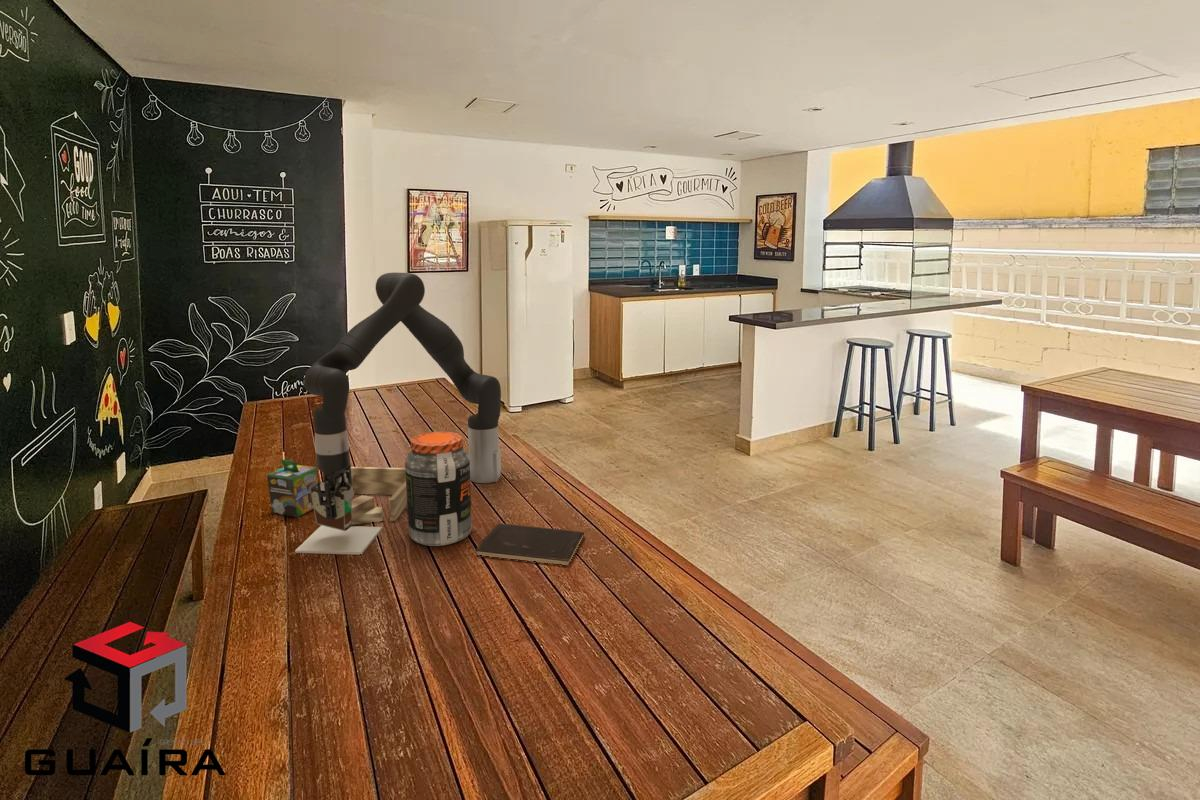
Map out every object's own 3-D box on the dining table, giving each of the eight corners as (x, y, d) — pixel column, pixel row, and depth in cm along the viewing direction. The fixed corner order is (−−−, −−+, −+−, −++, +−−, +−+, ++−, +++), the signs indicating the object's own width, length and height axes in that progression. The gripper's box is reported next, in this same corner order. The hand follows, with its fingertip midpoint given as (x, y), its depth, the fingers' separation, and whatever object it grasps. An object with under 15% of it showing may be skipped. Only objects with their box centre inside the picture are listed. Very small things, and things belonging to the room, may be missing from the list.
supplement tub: (475, 544, 163) (472, 445, 157) (409, 552, 159) (403, 450, 152) (469, 518, 178) (465, 426, 171) (408, 525, 173) (402, 431, 167)
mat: (382, 529, 171) (381, 527, 170) (361, 554, 157) (361, 552, 157) (321, 527, 171) (321, 525, 171) (295, 552, 157) (295, 550, 157)
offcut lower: (382, 516, 179) (382, 506, 178) (382, 523, 175) (381, 512, 175) (335, 521, 176) (334, 511, 175) (334, 528, 172) (333, 517, 171)
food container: (368, 522, 163) (364, 485, 161) (349, 532, 158) (345, 493, 156) (331, 513, 168) (327, 476, 166) (312, 522, 163) (307, 485, 161)
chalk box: (321, 505, 185) (317, 455, 181) (297, 518, 176) (291, 466, 173) (295, 501, 188) (290, 451, 184) (270, 513, 179) (264, 462, 176)
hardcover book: (568, 569, 153) (568, 560, 152) (475, 558, 157) (475, 549, 157) (584, 539, 168) (584, 530, 167) (498, 530, 172) (498, 522, 172)
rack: (416, 493, 194) (415, 468, 192) (394, 521, 175) (392, 493, 173) (352, 492, 194) (350, 466, 192) (323, 519, 176) (321, 491, 174)
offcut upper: (363, 505, 179) (362, 495, 178) (374, 507, 177) (373, 497, 177) (341, 516, 172) (340, 505, 171) (352, 519, 170) (351, 508, 170)
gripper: (334, 459, 151) (340, 525, 155) (359, 440, 165) (364, 501, 169) (302, 458, 151) (309, 524, 155) (329, 439, 165) (335, 500, 169)
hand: (338, 512), depth 162 cm, fingers closed on food container, 7 cm apart
